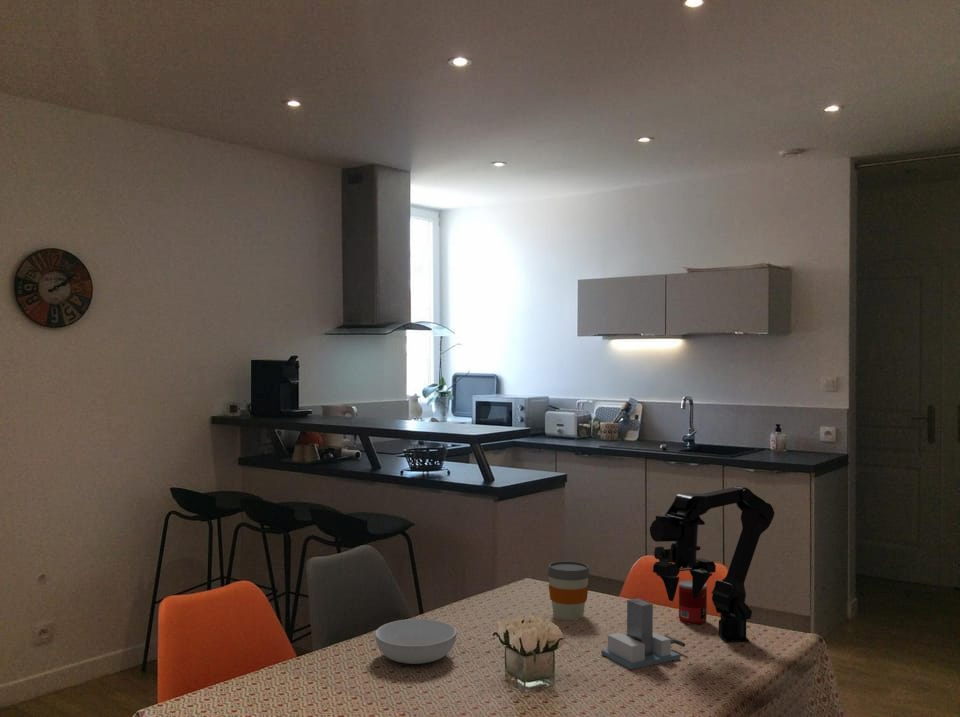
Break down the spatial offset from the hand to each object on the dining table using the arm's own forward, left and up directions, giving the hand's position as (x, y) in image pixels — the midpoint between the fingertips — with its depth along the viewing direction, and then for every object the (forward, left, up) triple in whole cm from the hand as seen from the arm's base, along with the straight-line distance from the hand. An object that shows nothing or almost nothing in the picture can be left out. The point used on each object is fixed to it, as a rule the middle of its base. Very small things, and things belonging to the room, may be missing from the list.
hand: (682, 599), depth 221 cm
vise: (+12, +6, -13) cm, 18 cm away
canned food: (-11, -22, -13) cm, 28 cm away
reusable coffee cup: (+25, -29, -13) cm, 41 cm away
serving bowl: (+71, +4, -13) cm, 73 cm away
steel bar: (+14, +7, -12) cm, 19 cm away
